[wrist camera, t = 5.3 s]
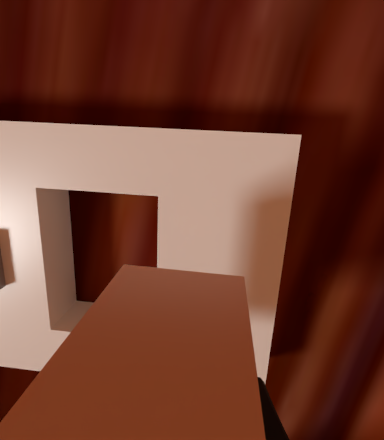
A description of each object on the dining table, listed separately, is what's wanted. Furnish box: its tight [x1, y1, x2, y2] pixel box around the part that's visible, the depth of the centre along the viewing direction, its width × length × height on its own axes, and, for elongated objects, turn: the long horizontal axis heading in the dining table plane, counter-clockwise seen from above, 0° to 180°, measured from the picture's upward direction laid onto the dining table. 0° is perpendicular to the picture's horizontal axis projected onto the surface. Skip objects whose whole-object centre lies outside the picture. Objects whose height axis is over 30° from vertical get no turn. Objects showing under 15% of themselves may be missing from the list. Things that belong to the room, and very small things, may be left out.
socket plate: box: [0, 121, 302, 383], centre depth 16 cm, size 14×18×4 cm
